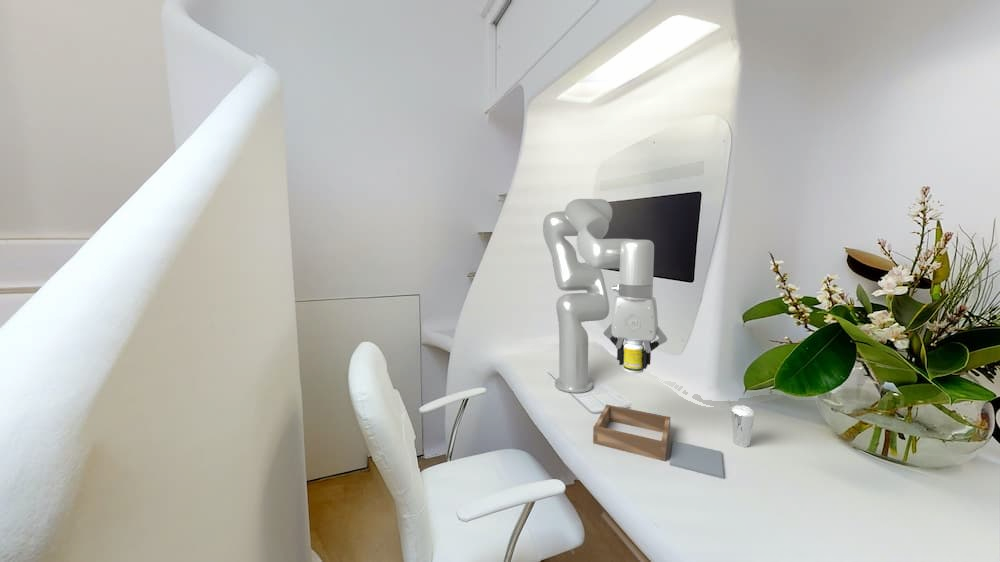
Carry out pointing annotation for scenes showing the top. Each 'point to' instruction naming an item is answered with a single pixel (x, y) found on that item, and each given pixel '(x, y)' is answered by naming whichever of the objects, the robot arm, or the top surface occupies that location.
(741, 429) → the milkshake
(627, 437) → the walnut box
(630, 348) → the supplement bottle
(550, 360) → the top surface
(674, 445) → the slate mat
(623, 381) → the top surface
